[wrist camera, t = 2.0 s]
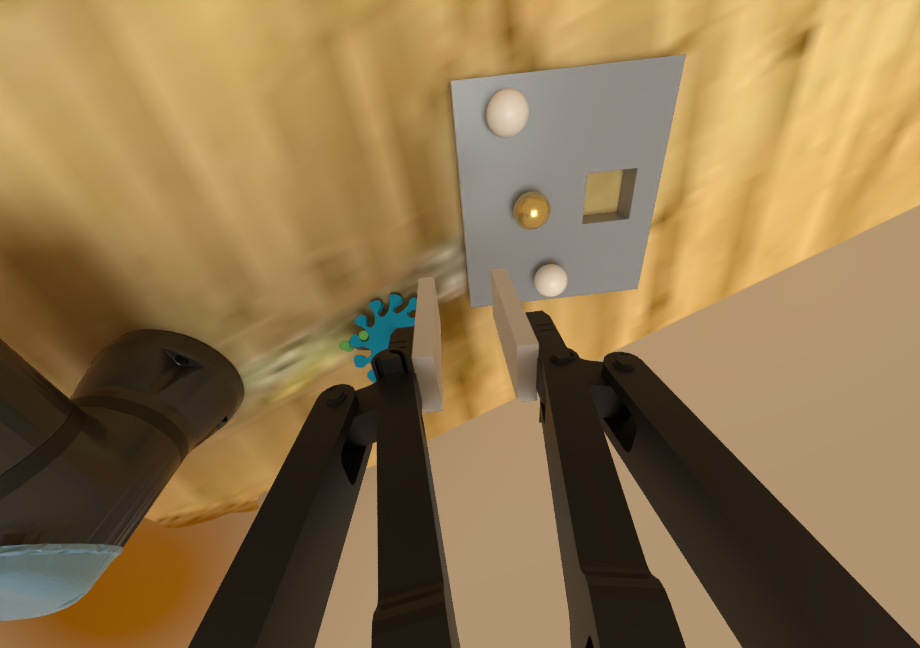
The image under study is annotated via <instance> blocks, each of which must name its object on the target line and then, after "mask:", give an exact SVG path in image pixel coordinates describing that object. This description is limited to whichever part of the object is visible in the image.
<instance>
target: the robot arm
mask: <svg viewBox="0 0 920 648" xmlns="http://www.w3.org/2000/svg"><path fill="white" fill-rule="evenodd" d="M491 280H492V300H493V316H494V320H495V324H496V327H497V331H498V334H499V338H500V341H501V345H502V349H503V352H504V356H505V359H506V363H507V367H508V370H509V374H510V377H511V381H512V385H513V388H514V392H515V395H516V399H517V402H525V401H533V400H537V391H538V394H539V397H540V417H539V422H541V423H542V427H543V434H544V441H545V448H546V455H547V462H548V469H549V476H550V483H551V490H552V497H553V504H554V511H555V518H556V525H557V532H558V539H559V546H560V553H561V560H562V568H563V575H564V581H565V589H566V596H567V603H568V609H569V619H570V639H571V648H686V647H685V644H684V641H683V638H682V635H681V632H680V629H679V626H678V624H677V621H676V618H675V615H674V612H673V610H672V606H671V603H670V601H669V599H668V596H667V593H666V591H665V589H664V587H663V585H662V584H661V582H660V580H659V579H657V578H656V577H654V576H653V575H652V574H651V572H650V571H649V569H648V566H647V564H646V561H645V558H644V554H643V551H642V548H641V545H640V542H639V539H638V536H637V533H636V530H635V527H634V524H633V520H632V517H631V514H630V511H629V508H628V505H627V502H626V499H625V496H624V493H623V490H622V487H621V483H620V480H619V477H618V475H617V471H616V468H615V465H614V462H613V459H612V456H611V453H610V450H609V447H608V443H607V440H606V438H605V434H606V435H607V437H608V438H609V440H610V442H611V443H612V445H613V446H614V448H615V449H616V451H617V452H618V454H619V455H620V457H621V459H622V460H623V462H624V463H625V465H626V466H627V468H628V470H629V471H630V473H631V474H632V476H633V477H634V479H635V480H636V482H637V484H638V485H639V487H640V488H641V490H642V491H643V493H644V495H645V496H646V498H647V499H648V501H649V502H650V504H651V505H652V507H653V509H654V510H655V512H656V513H657V515H658V516H659V518H660V520H661V521H662V523H663V524H664V526H665V527H666V529H667V530H668V532H669V534H670V535H671V537H672V538H673V540H674V541H675V543H676V545H677V546H678V548H679V549H680V551H681V552H682V554H683V555H684V557H685V559H686V560H687V562H688V563H689V565H690V566H691V568H692V569H693V571H694V573H695V574H696V576H697V577H698V579H699V580H700V582H701V584H702V585H703V587H704V588H705V590H706V591H707V593H708V594H709V596H710V597H711V599H712V601H713V602H714V604H715V605H716V607H717V609H718V610H719V612H720V613H721V615H722V616H723V618H724V619H725V621H726V622H727V624H728V626H729V627H730V629H731V630H732V632H733V633H734V635H735V636H736V638H737V640H738V641H739V643H740V644H741V646H742V647H743V648H920V645H919V644H917V642H916V641H915V640H914V639H913V638H911V636H910V635H909V634H908V633H907V632H906V631H905V630H904V629H903V628H902V627H901V626H900V625H899V624H898V623H897V622H896V621H895V620H894V619H893V618H892V617H891V616H890V615H889V614H888V613H887V612H886V611H885V610H884V608H883V607H882V606H880V605H879V603H878V602H877V601H876V600H875V599H874V598H873V597H872V596H871V595H870V594H869V593H868V592H867V591H866V590H865V589H864V588H863V587H862V586H861V585H860V584H859V583H858V582H857V581H856V580H855V579H854V578H853V577H852V576H851V575H850V574H849V573H848V571H846V569H845V568H844V567H843V566H842V565H841V564H840V563H839V562H838V561H837V560H836V559H835V558H834V557H833V556H832V555H831V554H830V553H829V552H828V551H827V550H826V549H825V548H824V547H823V546H822V545H821V544H820V543H819V542H818V541H817V540H816V539H815V538H814V537H813V536H812V535H811V533H810V532H809V531H807V529H806V528H805V527H804V526H803V525H802V524H801V523H800V522H799V521H798V520H797V519H796V518H795V517H794V516H793V515H792V514H791V513H790V512H789V511H788V510H787V509H786V508H785V507H784V506H783V505H782V504H781V503H780V502H779V501H778V500H777V499H776V498H775V497H774V495H772V494H771V492H770V491H769V490H768V489H767V488H766V487H765V486H764V485H763V484H762V483H761V482H760V481H759V480H758V479H757V478H756V477H755V476H754V475H753V474H752V473H751V472H750V471H749V470H748V469H747V468H746V467H745V466H744V465H743V464H742V463H741V462H740V461H739V460H738V459H737V458H736V456H734V454H733V453H732V452H731V451H730V450H729V449H728V448H727V447H726V446H725V445H724V444H723V443H722V442H721V441H720V440H719V439H718V438H717V437H716V436H715V435H714V434H713V433H712V432H711V431H710V430H709V429H708V428H707V427H706V426H705V425H704V424H703V423H702V422H701V421H700V420H699V418H697V416H695V414H694V413H693V412H692V411H691V410H690V409H689V408H688V407H687V406H686V405H685V404H684V403H683V402H682V401H681V400H680V399H679V398H678V397H677V396H676V395H675V394H674V393H673V392H672V391H671V390H670V389H669V388H668V387H667V386H666V385H665V384H664V383H663V382H662V381H661V379H660V378H659V377H658V376H657V375H656V374H655V373H653V371H652V370H651V369H650V368H649V367H648V366H647V365H646V364H645V363H644V362H643V361H642V360H641V359H639V358H638V357H637V356H635V355H632V354H630V353H625V352H613V353H610V354H607V355H606V356H605V357H604V361H603V362H598V361H589V360H584V359H581V358H580V357H579V356H578V354H577V353H576V352H575V351H573V350H572V349H569V348H567V347H566V345H565V343H564V341H563V339H562V338H561V336H560V334H559V332H558V330H557V329H556V327H555V325H554V323H553V321H552V319H551V317H550V316H549V315H547V314H546V313H544V312H543V311H535V312H526V313H525V311H524V309H523V307H522V304H521V302H520V300H519V297H518V295H517V293H516V291H515V288H514V286H513V284H512V281H511V279H510V277H509V275H508V272H507V270H506V268H505V269H496V270H491ZM371 365H372V368H373V372H374V375H375V378H376V382H375V383H373V384H372V385H370V386H367V387H365V388H362V389H359V390H356V391H355V390H354V388H353V387H352V386H350V385H346V384H340V385H334V386H332V387H330V388H328V389H326V390H325V391H323V392H322V393H321V394H320V396H319V397H318V398H317V400H316V402H315V404H314V406H313V408H312V410H311V412H310V414H309V415H308V417H307V419H306V421H305V423H304V425H303V427H302V429H301V431H300V433H299V435H298V437H297V439H296V441H295V442H294V444H293V446H292V448H291V450H290V452H289V454H288V456H287V458H286V460H285V462H284V464H283V466H282V468H281V469H280V471H279V473H278V475H277V477H276V479H275V481H274V483H273V485H272V487H271V489H270V491H269V493H268V495H267V497H266V498H265V500H264V502H263V504H262V506H261V508H260V510H259V512H258V514H257V516H256V518H255V520H254V522H253V524H252V525H251V527H250V529H249V531H248V533H247V535H246V537H245V539H244V541H243V543H242V545H241V547H240V549H239V550H238V552H237V554H236V556H235V558H234V560H233V562H232V564H231V566H230V568H229V570H228V572H227V574H226V575H225V578H224V579H223V581H222V583H221V585H220V587H219V589H218V591H217V593H216V595H215V597H214V599H213V601H212V603H211V604H210V606H209V608H208V610H207V612H206V614H205V616H204V618H203V620H202V622H201V624H200V626H199V628H198V629H197V631H196V633H195V635H194V637H193V639H192V641H191V643H190V645H189V647H188V648H314V647H315V643H316V639H317V636H318V633H319V629H320V626H321V622H322V619H323V615H324V612H325V609H326V605H327V601H328V598H329V594H330V591H331V588H332V584H333V580H334V577H335V573H336V570H337V567H338V563H339V559H340V556H341V553H342V549H343V546H344V542H345V538H346V536H347V532H348V529H349V525H350V521H351V518H352V515H353V511H354V508H355V504H356V501H357V497H358V494H359V490H360V487H361V483H362V480H363V476H364V473H365V470H366V466H367V463H368V459H369V456H370V452H371V449H372V443H374V442H377V503H378V504H377V510H378V512H377V516H378V604H377V608H376V610H375V612H374V615H373V621H372V648H460V643H459V638H458V633H457V627H456V621H455V615H454V609H453V602H452V597H451V590H450V584H449V578H448V571H447V566H446V559H445V553H444V547H443V540H442V534H441V528H440V522H439V516H438V509H437V503H436V497H435V491H434V485H433V478H432V472H431V466H430V460H429V453H428V447H427V441H426V435H425V428H424V422H423V418H422V408H423V413H429V412H437V411H443V398H442V360H441V323H440V315H439V309H438V302H437V295H436V288H435V282H434V277H426V278H419V283H418V294H417V305H416V316H415V326H410V327H401V328H396V329H395V330H394V331H393V333H392V334H391V335H390V340H389V345H388V349H385V350H382V351H380V352H379V353H377V354H376V355H375V356H374V357H373V358H372V361H371ZM242 399H243V386H242V382H241V380H240V377H239V375H238V374H237V372H236V371H235V369H234V368H233V367H232V365H231V364H230V363H229V362H228V361H227V360H226V359H225V358H224V357H222V356H221V355H220V354H219V353H217V352H216V351H214V350H213V349H211V348H210V347H208V346H206V345H205V344H203V343H201V342H199V341H196V340H194V339H192V338H189V337H186V336H183V335H180V334H176V333H171V332H166V331H157V330H144V331H136V332H131V333H128V334H125V335H123V336H121V337H119V338H118V339H116V340H115V341H113V342H112V343H111V344H109V345H108V346H107V347H105V348H104V349H103V350H101V351H100V352H99V353H98V354H97V355H96V357H95V358H94V359H93V361H92V363H91V366H90V367H89V369H88V370H87V372H86V373H85V375H84V376H83V378H82V380H81V381H80V383H79V384H78V386H77V388H76V389H75V391H74V393H73V394H72V396H71V398H70V399H69V398H68V397H66V396H65V395H64V394H63V393H62V392H61V391H60V390H58V389H57V388H56V387H55V386H54V385H53V384H52V383H50V382H49V381H48V380H47V379H46V378H45V377H44V376H42V375H41V374H40V373H39V372H38V371H37V370H36V369H34V368H33V367H32V366H31V365H30V364H29V363H28V362H26V361H25V360H24V359H23V358H22V357H21V356H20V355H18V354H17V353H16V352H15V351H14V350H13V349H12V348H10V347H9V346H8V345H7V344H6V343H5V342H4V341H3V340H2V339H0V621H4V620H17V619H26V618H33V617H39V616H43V615H48V614H51V613H54V612H57V611H59V610H62V609H64V608H66V607H68V606H70V605H72V604H74V603H75V602H77V601H78V600H79V599H81V598H82V597H83V596H84V595H85V594H86V593H87V592H88V591H89V590H90V588H92V586H93V585H94V584H95V582H96V581H97V580H98V578H99V577H100V576H101V575H102V573H103V572H104V571H105V570H106V568H107V567H108V566H109V565H110V563H111V562H112V561H113V560H114V558H115V557H117V556H119V555H120V554H121V552H122V550H123V547H124V545H125V544H126V542H127V541H128V540H129V538H130V537H131V535H132V533H133V532H134V531H135V529H136V528H137V526H138V525H139V524H140V522H141V521H142V519H143V518H144V516H145V515H146V514H147V512H148V511H149V509H150V508H151V506H152V505H153V503H154V502H155V500H156V499H157V498H158V496H159V495H160V493H161V492H162V490H163V489H164V487H165V486H166V485H167V483H168V482H169V480H170V479H171V477H172V476H173V474H174V473H175V472H176V470H177V469H178V467H179V466H180V464H181V463H182V462H183V460H184V459H185V457H186V456H187V455H188V453H189V452H191V451H192V450H193V449H195V448H196V447H197V446H198V445H200V444H201V443H202V442H204V441H205V440H206V439H208V438H209V437H210V436H211V435H213V434H214V433H215V432H216V431H217V430H219V429H220V428H222V427H223V426H224V425H226V424H227V423H228V422H229V420H230V419H231V418H232V417H233V415H234V414H235V412H236V411H237V409H238V408H239V406H240V404H241V402H242ZM604 432H605V434H604Z"/></svg>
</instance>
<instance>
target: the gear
mask: <svg viewBox="0 0 920 648" xmlns="http://www.w3.org/2000/svg"><path fill="white" fill-rule="evenodd" d="M389 300H390V307H389V310H388V312H387V314H386V315H385V316H383V317H381V316H380V313H381V311H382V309H383V303H382V302H381V301H380V300H376V301H373V302H370V304H369V306H370V308H371V309H372V311H373V312H374V315H375V324H374V326H373V327H369V320H368V318H367V317H366V316H365V315H363V314H361V315H359V316H358V317H357V318H356V320H355V324H356V325H358V326H360V327H363V328H364V329H365V330H366V331H361V332H360V333H359V335H355V334H354V335H352V336H351V339H350V342H348V341H342V342H341V343H340V348H341V349H342V350H345V351H349V352H350V351H352V350H353V349H354V348H356V349H358V350H371V356H370V357H368V358H366V357H365V356H362V355H356V356H355V357H354V362H355V365H356V367H360V368H362V367H365V366H366V365H367V364H368V363H370V362H371V361H372V358H373V357H374V356H375V355H376V354H377V353H379V352H380V351H382V350H385V349H388V345H389V340H390V335H391V334H392V333H393V331H394V330H395V329H396V328H401V327H410V326H415V318H410V317H409V313H410V312H411V311H413V310H416V305H417V299H416V298H415V297H413V298H411V299H410V301H409V304H408V306H407V307H406V308H405V309H404V310H403V311H401V312H400V313H395V309H396V307H398V306H399V305H401V304H402V302H403V298H402V297H401V296H399V295H396V294H391V295H390V297H389ZM441 336H442V334H441ZM367 376H368V378H369V379H370V380H371V381H372V382H376V378H375V375H374V372H373V370H371V371H369V372H368V373H367Z"/></svg>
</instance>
